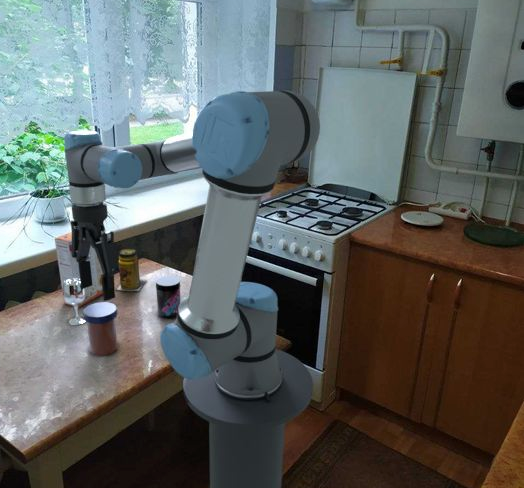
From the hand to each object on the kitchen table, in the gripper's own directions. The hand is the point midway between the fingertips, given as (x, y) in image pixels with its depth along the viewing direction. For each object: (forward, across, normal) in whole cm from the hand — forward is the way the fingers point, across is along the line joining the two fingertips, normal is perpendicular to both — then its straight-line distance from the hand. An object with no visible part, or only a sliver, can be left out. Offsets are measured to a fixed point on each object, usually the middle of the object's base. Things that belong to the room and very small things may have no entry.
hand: (97, 292), depth 119 cm
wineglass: (+16, +17, -3) cm, 23 cm away
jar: (+16, 0, 0) cm, 16 cm away
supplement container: (+16, +2, -23) cm, 28 cm away
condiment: (+16, +25, -27) cm, 40 cm away
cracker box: (+16, +28, -13) cm, 35 cm away
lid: (+5, 0, 0) cm, 5 cm away
